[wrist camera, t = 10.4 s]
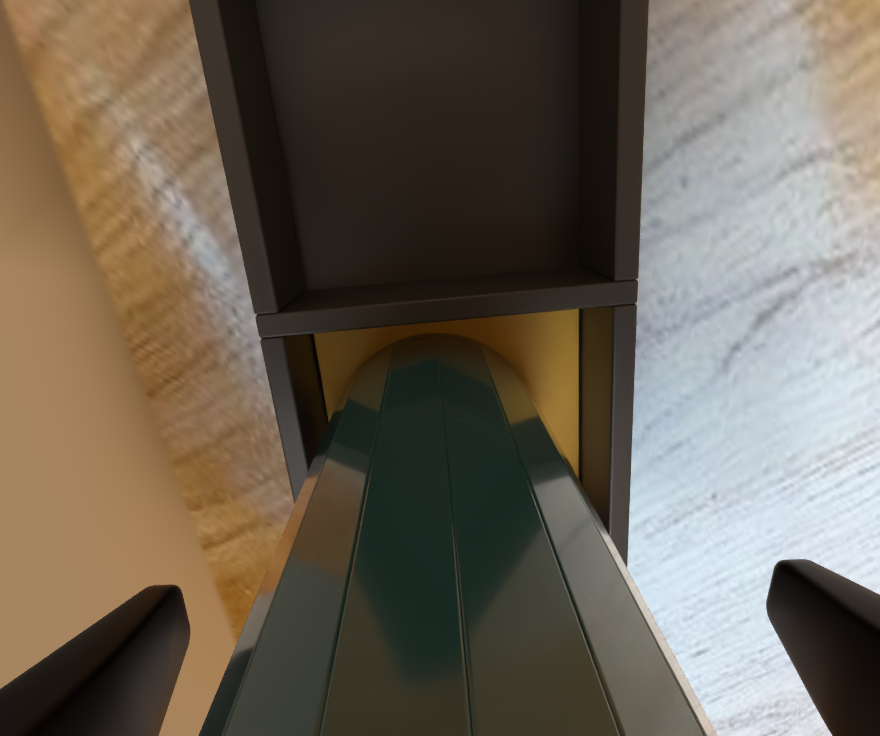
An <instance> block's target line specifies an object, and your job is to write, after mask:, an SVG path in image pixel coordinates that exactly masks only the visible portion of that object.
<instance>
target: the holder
mask: <svg viewBox="0 0 880 736" xmlns="http://www.w3.org/2000/svg"><path fill="white" fill-rule="evenodd" d="M189 4H190V9H191V13H192V18H193V23H194V28H195V32H196V37H197V42H198V47H199V51H200V56H201V61H202V66H203V71H204V75H205V80H206V85H207V90H208V94H209V99H210V104H211V109H212V113H213V118H214V123H215V128H216V132H217V137H218V142H219V147H220V152H221V156H222V161H223V166H224V171H225V175H226V180H227V185H228V190H229V194H230V199H231V204H232V209H233V213H234V218H235V223H236V228H237V233H238V237H239V242H240V247H241V252H242V256H243V261H244V266H245V271H246V275H247V280H248V285H249V290H250V294H251V299H252V304H253V309H254V313H255V314H257V315H256V323H257V327H258V332H259V336H260V338H262V339H261V341H260V342H261V346H262V351H263V356H264V361H265V366H266V370H267V375H268V380H269V385H270V389H271V394H272V399H273V404H274V408H275V413H276V418H277V423H278V428H279V432H280V437H281V442H282V447H283V451H284V456H285V461H286V466H287V470H288V475H289V480H290V485H291V489H292V494H293V499H294V504H295V503H296V500H297V498H298V495H299V493H300V491H301V488H302V486H303V483H304V481H305V479H306V476H307V474H308V471H309V469H310V467H311V464H312V462H313V459H314V457H315V455H316V452H317V450H318V447H319V445H320V443H321V440H322V438H323V435H324V433H325V431H326V428H327V426H328V423H329V421H330V419H331V416H332V414H333V411H334V409H335V406H336V404H337V402H338V399H339V398H340V396H341V395H342V393H343V392H344V389H345V388H346V386H347V384H348V382H349V380H350V378H351V377H352V376H353V374H354V373H355V372H356V370H357V369H358V368H359V367H360V366H361V365H362V364H363V363H364V362H365V361H366V360H367V359H368V358H369V357H370V356H372V355H373V354H374V353H376V352H377V351H378V350H380V349H382V348H383V347H385V346H387V345H389V344H391V343H393V342H396V341H398V340H400V339H403V338H407V337H411V336H414V335H420V334H428V333H446V334H454V335H459V336H463V337H467V338H471V339H473V340H476V341H478V342H481V343H483V344H485V345H487V346H489V347H490V348H492V349H494V350H495V351H497V352H498V353H499V354H501V355H502V356H503V357H505V358H506V359H507V360H508V361H509V362H510V363H511V364H512V365H513V366H514V368H515V369H516V370H517V372H518V373H519V374H520V376H521V377H522V379H523V381H524V382H525V384H526V386H527V387H528V389H529V390H530V392H531V393H532V395H533V396H534V398H535V400H536V402H537V404H538V405H539V407H540V409H541V411H542V413H543V415H544V416H545V418H546V420H547V422H548V424H549V426H550V427H551V429H552V431H553V433H554V435H555V437H556V439H557V440H558V442H559V444H560V446H561V448H562V450H563V451H564V453H565V455H566V457H567V459H568V461H569V462H570V464H571V466H572V468H573V470H574V472H575V474H576V475H577V477H578V479H579V481H580V483H581V485H582V486H583V488H584V490H585V492H586V494H587V496H588V497H589V499H590V501H591V503H592V505H593V507H594V508H595V510H596V512H597V514H598V516H599V518H600V520H601V521H602V523H603V525H604V527H605V529H606V531H607V532H608V534H609V536H610V538H611V540H612V542H613V543H614V545H615V547H616V549H617V551H618V553H619V555H620V556H621V558H622V560H623V562H624V564H625V566H626V567H627V556H628V529H629V502H630V476H631V449H632V423H633V396H634V369H635V343H636V316H637V305H636V304H634V303H636V302H637V290H638V282H637V280H635V279H638V269H639V242H640V216H641V189H642V163H643V136H644V110H645V83H646V57H647V30H648V4H649V0H189Z"/></svg>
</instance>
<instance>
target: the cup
mask: <svg viewBox="0 0 880 736" xmlns="http://www.w3.org/2000/svg"><path fill="white" fill-rule="evenodd" d="M199 736H718V735H717V733H716V731H715V730H714V728H713V726H712V724H711V722H710V720H709V718H708V717H707V715H706V713H705V711H704V709H703V707H702V706H701V704H700V702H699V700H698V698H697V696H696V695H695V693H694V691H693V689H692V687H691V685H690V683H689V682H688V680H687V678H686V676H685V674H684V672H683V671H682V669H681V667H680V665H679V663H678V661H677V660H676V658H675V656H674V654H673V652H672V650H671V648H670V647H669V645H668V643H667V641H666V639H665V637H664V636H663V634H662V632H661V630H660V628H659V626H658V625H657V623H656V621H655V619H654V617H653V615H652V613H651V612H650V610H649V608H648V606H647V604H646V602H645V601H644V599H643V597H642V595H641V593H640V591H639V590H638V588H637V586H636V584H635V582H634V580H633V578H632V577H631V575H630V573H629V571H628V569H627V567H626V566H625V564H624V562H623V560H622V558H621V556H620V555H619V553H618V551H617V549H616V547H615V545H614V543H613V542H612V540H611V538H610V536H609V534H608V532H607V531H606V529H605V527H604V525H603V523H602V521H601V520H600V518H599V516H598V514H597V512H596V510H595V508H594V507H593V505H592V503H591V501H590V499H589V497H588V496H587V494H586V492H585V490H584V488H583V486H582V485H581V483H580V481H579V479H578V477H577V475H576V474H575V472H574V470H573V468H572V466H571V464H570V462H569V461H568V459H567V457H566V455H565V453H564V451H563V450H562V448H561V446H560V444H559V442H558V440H557V439H556V437H555V435H554V433H553V431H552V429H551V427H550V426H549V424H548V422H547V420H546V418H545V416H544V415H543V413H542V411H541V409H540V407H539V405H538V404H537V402H536V400H535V398H534V396H533V395H532V393H531V392H530V390H529V389H528V387H527V386H526V384H525V382H524V381H523V379H522V377H521V376H520V374H519V373H518V372H517V370H516V369H515V368H514V366H513V365H512V364H511V363H510V362H509V361H508V360H507V359H506V358H505V357H503V356H502V355H501V354H499V353H498V352H497V351H495V350H494V349H492V348H490V347H489V346H487V345H485V344H483V343H481V342H478V341H476V340H473V339H471V338H467V337H463V336H459V335H454V334H446V333H428V334H420V335H414V336H411V337H407V338H403V339H400V340H398V341H396V342H393V343H391V344H389V345H387V346H385V347H383V348H382V349H380V350H378V351H377V352H376V353H374V354H373V355H372V356H370V357H369V358H368V359H367V360H366V361H365V362H364V363H363V364H362V365H361V366H360V367H359V368H358V369H357V370H356V372H355V373H354V374H353V376H352V377H351V378H350V380H349V382H348V384H347V386H346V388H345V389H344V392H343V393H342V395H341V396H340V398H339V399H338V402H337V404H336V406H335V409H334V411H333V414H332V416H331V419H330V421H329V423H328V426H327V428H326V431H325V433H324V435H323V438H322V440H321V443H320V445H319V447H318V450H317V452H316V455H315V457H314V459H313V462H312V464H311V467H310V469H309V471H308V474H307V476H306V479H305V481H304V483H303V486H302V488H301V491H300V493H299V495H298V498H297V500H296V503H295V505H294V508H293V510H292V512H291V515H290V517H289V520H288V522H287V524H286V527H285V529H284V532H283V534H282V536H281V539H280V541H279V544H278V546H277V548H276V551H275V553H274V556H273V558H272V560H271V563H270V565H269V568H268V570H267V572H266V575H265V577H264V580H263V582H262V584H261V587H260V589H259V592H258V594H257V597H256V599H255V601H254V604H253V606H252V609H251V611H250V613H249V616H248V618H247V621H246V623H245V625H244V628H243V630H242V633H241V635H240V637H239V640H238V642H237V645H236V647H235V649H234V652H233V654H232V657H231V659H230V661H229V664H228V666H227V669H226V671H225V673H224V677H223V678H222V681H221V683H220V686H219V688H218V690H217V693H216V695H215V698H214V700H213V702H212V705H211V707H210V710H209V712H208V714H207V717H206V719H205V722H204V724H203V726H202V729H201V731H200V734H199Z"/></svg>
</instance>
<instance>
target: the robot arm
mask: <svg viewBox="0 0 880 736" xmlns="http://www.w3.org/2000/svg"><path fill="white" fill-rule="evenodd" d="M766 608H767V614H768V617H769V619H770V621H771V623H772V625H773V627H774V629H775V631H776V633H777V635H778V637H779V639H780V640H781V642H782V644H783V646H784V648H785V650H786V652H787V654H788V655H789V657H790V659H791V661H792V663H793V665H794V667H795V669H796V670H797V672H798V674H799V676H800V678H801V680H802V682H803V684H804V685H805V687H806V689H807V691H808V693H809V695H810V697H811V699H812V701H813V702H814V704H815V706H816V708H817V710H818V712H819V713H820V715H821V717H822V719H823V720H824V722H825V724H826V726H827V727H828V729H829V731H830V732H831V734H832V735H833V736H880V595H879V594H877V593H875V592H873V591H871V590H869V589H867V588H865V587H863V586H861V585H859V584H857V583H855V582H853V581H851V580H849V579H847V578H845V577H843V576H841V575H839V574H837V573H835V572H832V571H830V570H828V569H826V568H824V567H822V566H820V565H818V564H816V563H814V562H812V561H810V560H805V559H794V560H781V561H779V562H778V563H777V564H776V565H775V567H774V571H773V575H772V579H771V584H770V588H769V592H768V597H767V602H766ZM189 639H190V624H189V621H188V616H187V611H186V607H185V603H184V599H183V594H182V591H181V589H180V588H179V587H178V586H176V585H154V586H149V587H147V588H145V589H144V590H142V591H141V592H139V593H138V594H136V595H135V596H133V597H132V598H131V599H129V600H128V601H126V602H125V603H124V604H122V605H121V606H119V607H118V608H116V609H115V610H113V611H112V612H110V613H109V614H108V615H106V616H105V617H103V618H102V619H100V620H99V621H98V622H96V623H95V624H93V625H92V626H90V627H89V628H88V629H86V630H85V631H83V632H82V633H80V634H79V635H77V636H76V637H74V638H73V639H72V640H70V641H69V642H67V643H66V644H65V645H63V646H62V647H60V648H59V649H57V650H56V651H54V652H53V653H51V654H50V655H49V656H47V657H46V658H44V659H43V660H41V661H40V662H39V663H37V664H36V665H34V666H33V667H31V668H30V669H28V670H27V671H26V672H24V673H23V674H21V675H20V676H18V677H17V678H16V679H14V680H13V681H11V682H10V683H9V684H7V685H5V686H4V687H3V688H1V689H0V736H158V735H159V732H160V729H161V726H162V723H163V720H164V717H165V714H166V711H167V708H168V705H169V702H170V699H171V696H172V693H173V690H174V687H175V684H176V681H177V678H178V675H179V672H180V669H181V666H182V663H183V660H184V657H185V654H186V651H187V648H188V645H189Z"/></svg>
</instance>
